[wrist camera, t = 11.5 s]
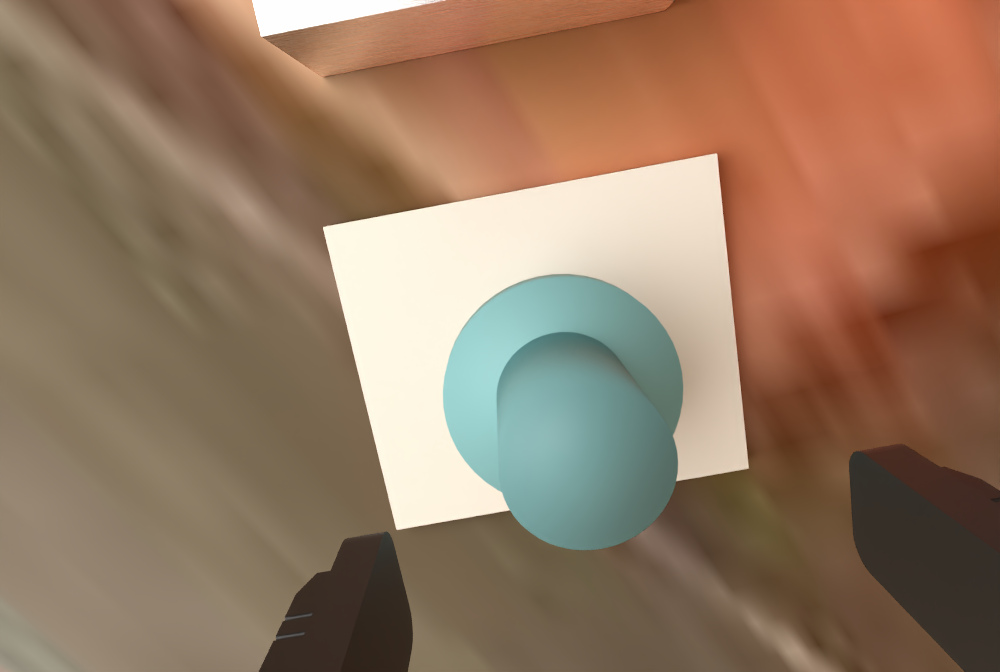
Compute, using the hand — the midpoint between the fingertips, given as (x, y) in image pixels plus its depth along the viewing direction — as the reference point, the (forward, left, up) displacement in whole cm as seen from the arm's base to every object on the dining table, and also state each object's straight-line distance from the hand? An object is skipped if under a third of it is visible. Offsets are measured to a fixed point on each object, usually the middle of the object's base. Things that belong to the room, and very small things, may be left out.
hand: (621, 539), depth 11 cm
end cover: (0, 0, -13) cm, 13 cm away
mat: (0, 0, -14) cm, 14 cm away
